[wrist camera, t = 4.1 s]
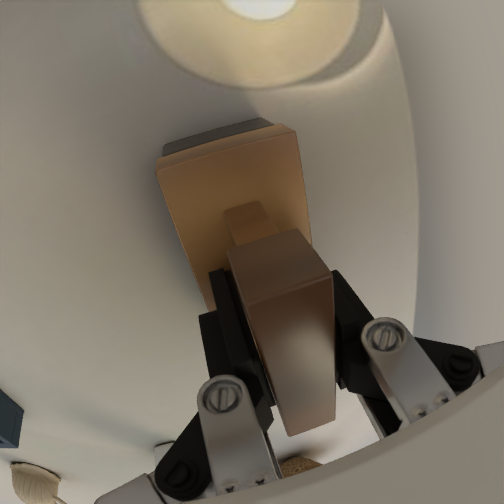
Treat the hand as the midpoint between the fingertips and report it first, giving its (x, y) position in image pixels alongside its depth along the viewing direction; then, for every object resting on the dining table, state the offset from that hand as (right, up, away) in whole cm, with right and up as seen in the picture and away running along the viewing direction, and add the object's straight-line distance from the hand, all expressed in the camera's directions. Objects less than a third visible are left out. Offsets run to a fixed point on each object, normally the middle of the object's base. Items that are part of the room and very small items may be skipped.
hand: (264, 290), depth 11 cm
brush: (-1, +2, +3) cm, 4 cm away
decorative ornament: (-26, -25, +13) cm, 38 cm away
